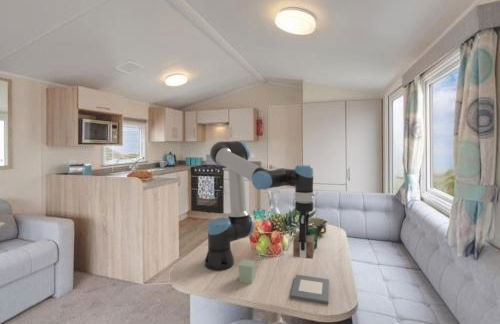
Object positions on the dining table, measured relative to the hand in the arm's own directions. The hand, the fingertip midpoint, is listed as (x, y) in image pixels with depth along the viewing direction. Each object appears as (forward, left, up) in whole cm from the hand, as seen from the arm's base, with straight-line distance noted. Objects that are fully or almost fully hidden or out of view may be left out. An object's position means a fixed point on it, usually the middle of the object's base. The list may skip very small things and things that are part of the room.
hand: (304, 253), depth 116 cm
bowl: (0, +74, -16) cm, 76 cm away
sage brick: (-26, 0, -16) cm, 31 cm away
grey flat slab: (+3, 0, -16) cm, 16 cm away
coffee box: (0, +46, -16) cm, 49 cm away
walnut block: (0, 0, 0) cm, 0 cm away
